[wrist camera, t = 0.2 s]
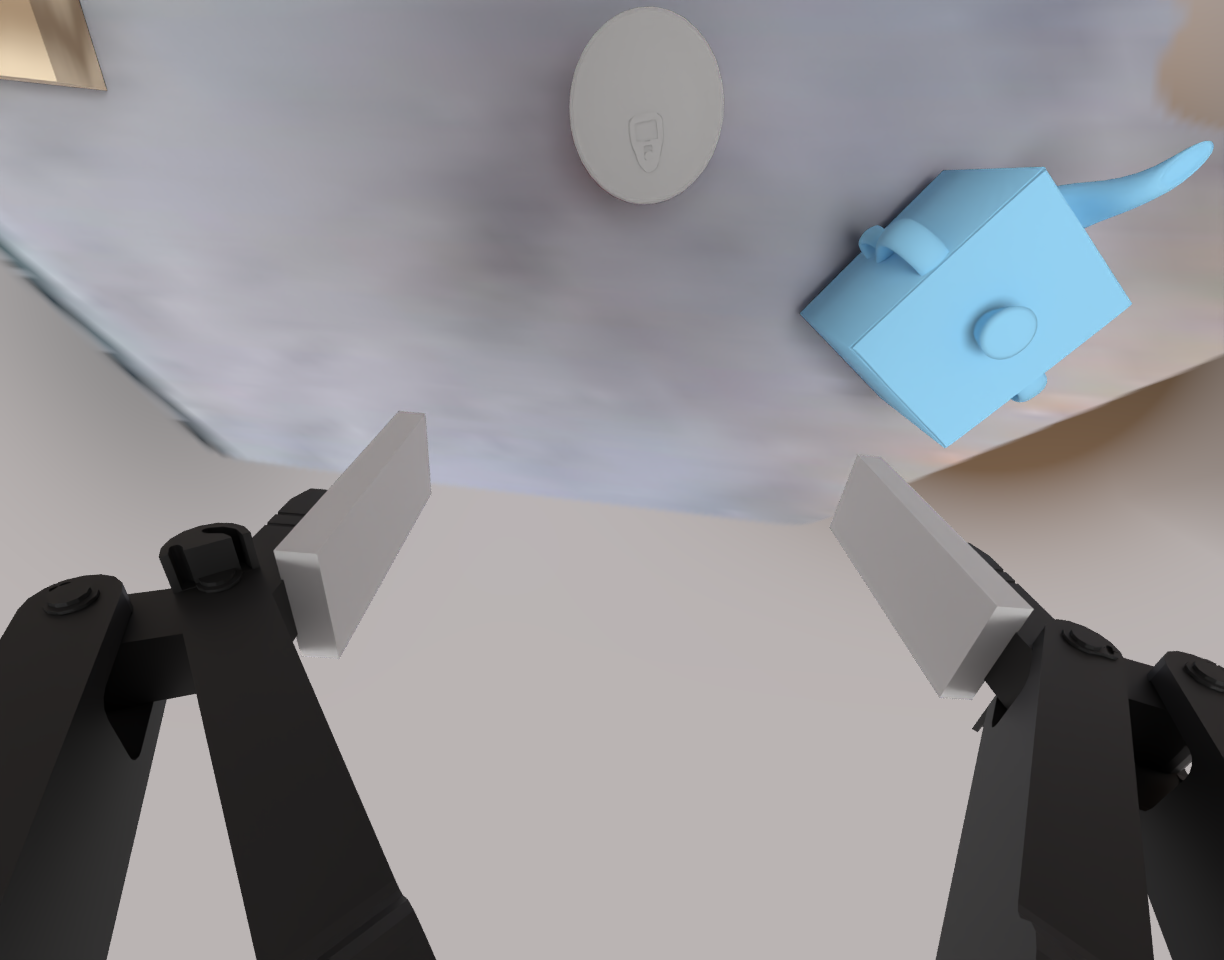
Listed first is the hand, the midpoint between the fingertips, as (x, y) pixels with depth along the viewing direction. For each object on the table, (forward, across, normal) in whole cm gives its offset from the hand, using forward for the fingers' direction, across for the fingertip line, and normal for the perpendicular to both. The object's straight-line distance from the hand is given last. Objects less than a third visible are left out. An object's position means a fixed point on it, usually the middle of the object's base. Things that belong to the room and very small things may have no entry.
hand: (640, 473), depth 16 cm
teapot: (+28, +23, +5) cm, 37 cm away
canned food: (+28, 0, +11) cm, 30 cm away
